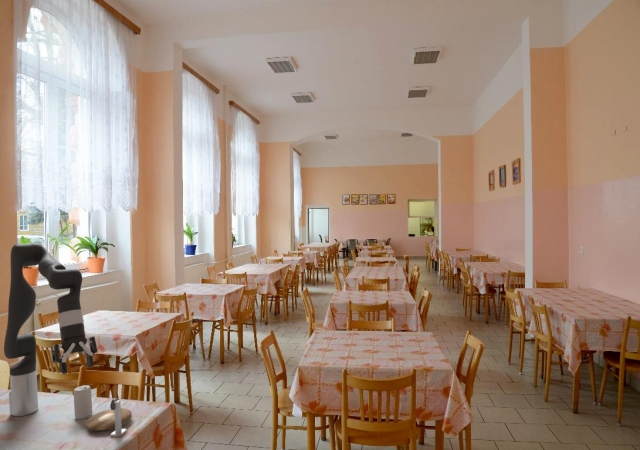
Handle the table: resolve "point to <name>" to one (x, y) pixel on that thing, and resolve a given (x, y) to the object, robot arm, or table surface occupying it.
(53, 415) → the table surface
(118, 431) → the stand
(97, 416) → the disc
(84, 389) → the beverage can
